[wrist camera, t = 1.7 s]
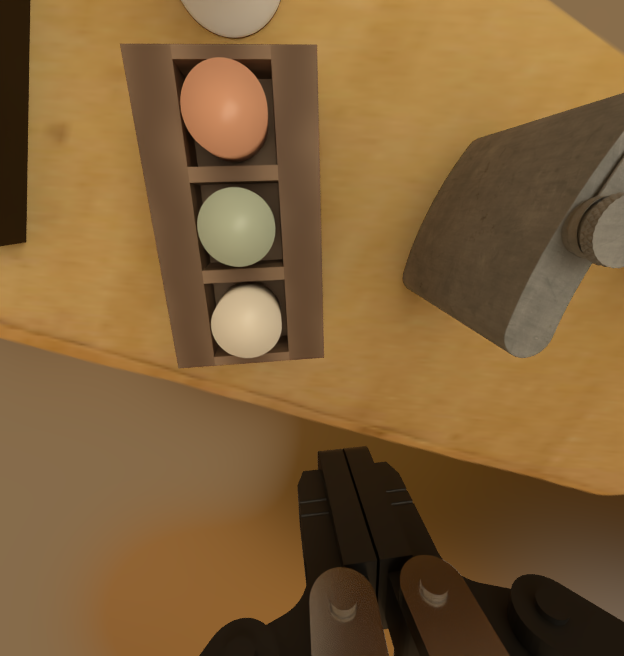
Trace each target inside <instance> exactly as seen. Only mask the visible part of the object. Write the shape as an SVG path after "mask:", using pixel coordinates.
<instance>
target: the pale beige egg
mask: <svg viewBox="0 0 624 656" xmlns="http://www.w3.org/2000/svg"><path fill="white" fill-rule="evenodd" d="M211 329H212V334H213V336H214V338H215V340H216V342H217V343H218V345H219V346H220V347H221V348H222V349H223V350H225V351H226V352H228V353H229V354H231V355H234V356H237V357H241V358H253V357H258V356H261V355H263V354H265V353H267V352H268V351H270V350H271V349H272V348H273V347H274V346H275V344H276V343H277V341H278V340H279V337H280V334H281V330H282V321H281V308H280V303H279V301H278V298H277V297H276V295H275V294H274V292H273V291H272V290H271V289H269V288H268V287H267V286H265V285H263V284H261V283H258V282H253V281H247V282H240V283H237V284H235V285H233V286H231V287H230V288H229V289H227V290H226V291H225V293H224V294H223V296H222V297H221V299H220V301H219V303H218V305H217V307H216V308H215V310H214V312H213V315H212V319H211Z"/></svg>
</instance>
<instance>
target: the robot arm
mask: <svg viewBox="0 0 624 656" xmlns="http://www.w3.org/2000/svg"><path fill="white" fill-rule="evenodd" d="M298 501H299V519H300V530H301V540H302V549H303V558H304V567H305V577H306V589H305V591H304V594H303V596H302V597H301V599H300V601H299V602H298V603H297V604H296V606H295V607H294V608H293V609H291V610H290V611H289V612H287V613H286V614H284V615H283V616H281V617H279V618H278V619H276V620H274V621H272V622H271V623H269V624H268V625H265V624H264V623H262V622H261V621H259V620H256V619H253V618H242V619H238V620H234V621H232V622H230V623H228V624H227V625H225V626H224V627H222V628H221V629H220V630H219V631H218V632H217V633H216V634H215V635H214V637H213V638H212V639H211V640H210V642H209V643H208V644H207V646H206V647H205V649H204V650H203V652H202V653H201V654H200V656H389V654H388V649H387V645H386V640H385V635H384V631H383V629H389V632H390V636H391V639H392V643H393V646H394V656H624V622H623V621H621V620H620V619H617V618H616V617H615V616H613V615H611V614H610V613H608V612H606V611H604V610H603V609H601V608H599V607H598V606H596V605H595V604H593V603H591V602H589V601H588V600H586V599H585V598H583V597H581V596H579V595H578V594H576V593H575V592H573V591H571V590H569V589H568V588H566V587H565V586H563V585H561V584H560V583H558V582H555V581H554V580H552V579H550V578H547V577H544V576H540V575H535V574H527V575H522V576H520V577H518V578H517V579H516V580H515V581H514V583H513V584H512V588H511V589H509V588H503V587H498V586H493V585H488V584H483V583H478V582H475V581H471V580H469V579H467V578H465V577H463V576H461V575H460V573H458V571H457V570H456V569H455V568H454V567H453V566H452V565H450V564H449V563H447V562H446V561H444V560H443V559H442V558H441V556H440V555H439V553H438V551H437V549H436V547H435V545H434V543H433V541H432V539H431V537H430V535H429V533H428V531H427V529H426V527H425V525H424V523H423V521H422V519H421V517H420V515H419V513H418V511H417V509H416V507H415V505H414V504H413V503H412V499H411V497H410V495H409V493H408V491H407V490H406V487H405V485H404V483H403V481H402V479H401V477H400V475H399V473H398V472H397V471H396V470H395V469H394V468H392V467H391V466H390V465H389V464H388V463H387V462H380V463H374V462H373V459H372V457H371V454H370V452H369V450H368V448H367V447H366V446H362V447H353V448H344V449H336V450H327V451H318V470H312V471H303V473H302V476H301V479H300V481H299V484H298Z"/></svg>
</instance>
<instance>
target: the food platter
mask: <svg viewBox="0 0 624 656" xmlns="http://www.w3.org/2000/svg"><path fill="white" fill-rule="evenodd" d="M29 43H30V0H0V246H4V245H11V244H17V243H23V242H26V221H27V162H28V102H29Z"/></svg>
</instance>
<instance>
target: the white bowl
mask: <svg viewBox="0 0 624 656" xmlns="http://www.w3.org/2000/svg"><path fill="white" fill-rule="evenodd" d="M181 1H182V3H183V5H184V6H185V8H186V9H187V11H188V12H189V13H190V14H191V16H192V17H193V18H194V19H195V20H196V21H197V22H198V23H199V24H201V25H202V26H203V27H204V28H206V29H207V30H209V31H211V32H213V33H215V34H217V35H220V36H224V37H230V38H239V37H245V36H248V35H251V34H253V33H255V32H257V31H259V30H260V29H261V28H263V27H264V26H265V25H266V24H267V23H268V22H269V21H270V19H271V18H272V17H273V15H274V14H275V12H276V10H277V8H278V6H279V3H280V0H181Z"/></svg>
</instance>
